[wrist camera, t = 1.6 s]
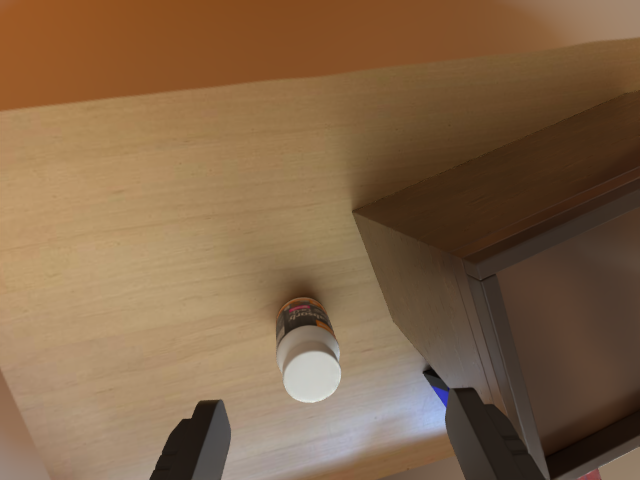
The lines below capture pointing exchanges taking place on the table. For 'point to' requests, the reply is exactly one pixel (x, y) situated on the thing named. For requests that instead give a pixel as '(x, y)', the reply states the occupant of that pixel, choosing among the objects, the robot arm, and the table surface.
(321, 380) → the pill bottle
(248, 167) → the table surface
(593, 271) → the stand
